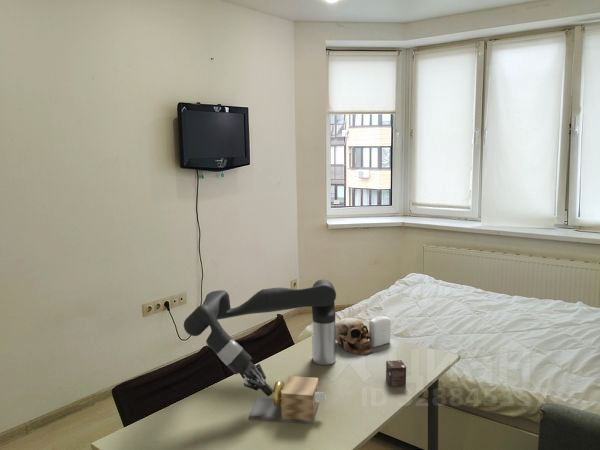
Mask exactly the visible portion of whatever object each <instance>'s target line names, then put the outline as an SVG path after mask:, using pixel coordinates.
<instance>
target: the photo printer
mask: <svg viewBox="0 0 600 450" xmlns="http://www.w3.org/2000/svg"><path fill="white" fill-rule="evenodd" d="M368 331H369V334H370V335H371V338H370V339H368V340H369V341H370V346H371V348H372V347H373V348H375V347H379V346H382V345H386V344H387V345H388V344H389V343H391V319H390V317H388V316H385V315H382V316H377V317H375V318H373V319H371V320H370V321H369V323H368Z"/></svg>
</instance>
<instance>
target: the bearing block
mask: <svg viewBox="0 0 600 450" xmlns="http://www.w3.org/2000/svg"><path fill="white" fill-rule="evenodd" d="M319 385H320V384H319V377H309V376H308V377H307V376H298V375H296V376H294V375H289V376H288V378H287V380H286V382H285V383H284V388H283V390H282V393H281V402H282V407H275V406H274V405H273V397H262V396H258V398H257V400H255V403H254V404H253V406H252V408H251V410H250V412H249V413H248V419H252V420H260V421H261V420H262V421H263V420H264V421H277V422H286V423H296V424H297V423H298V424H309V425H311V424H312V425H314V423H315V419H316V416H317V412H318V409H319V405H320V402H316V401H315V392H320V389H319Z"/></svg>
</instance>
